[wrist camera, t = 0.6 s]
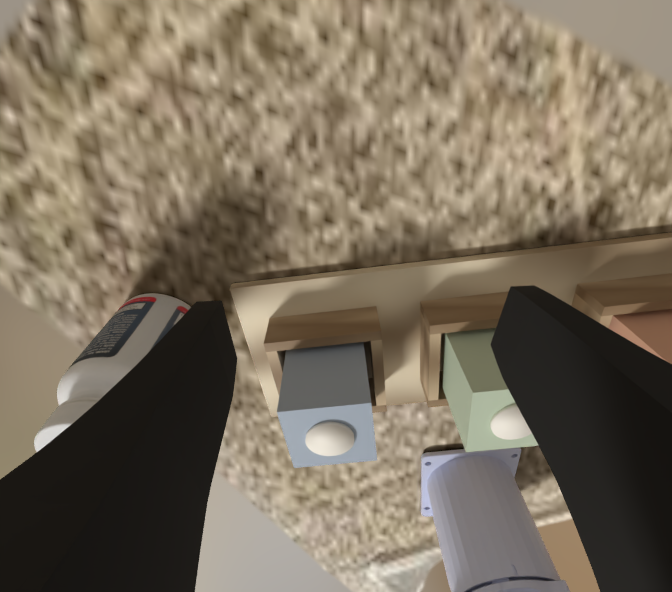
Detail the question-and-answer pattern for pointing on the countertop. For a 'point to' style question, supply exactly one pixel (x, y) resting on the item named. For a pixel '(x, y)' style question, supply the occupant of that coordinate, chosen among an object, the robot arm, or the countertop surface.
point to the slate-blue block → (327, 406)
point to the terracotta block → (647, 331)
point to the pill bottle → (111, 357)
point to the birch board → (439, 307)
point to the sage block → (481, 394)
